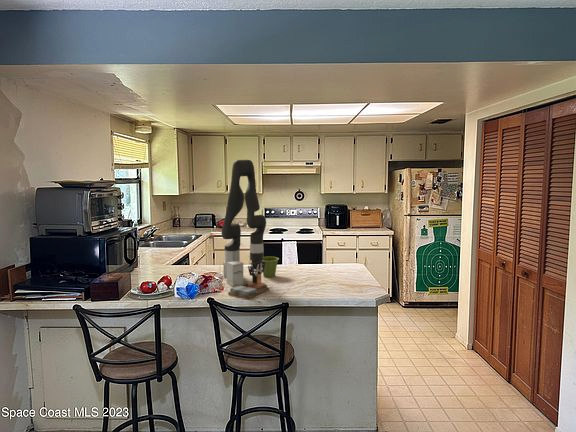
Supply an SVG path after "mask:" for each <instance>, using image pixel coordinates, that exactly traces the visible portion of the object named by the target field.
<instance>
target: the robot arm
mask: <svg viewBox="0 0 576 432" xmlns="http://www.w3.org/2000/svg"><path fill="white" fill-rule="evenodd" d="M254 166H255V165H254V163H253V161H252V160H251V159H236V160H234V161H233V163H232V168H231V180H230V188H229V193H228V197H227V198H228V199H227V202H226V203H227V204H226V209H225V210H226V211H225V215H224V219H223V222H222V227H221V237H222V239H223V240H231V241H230V242H229V243H227V244H225V245H224V262H223V263H222V265H223V278H225V279H227V262H234V261H239V262H241V257H240V255H241V252H240V251H241V248H240V247H241V235H242V232H241V226H240V224H239V223H233V221H234V220H235V218H236V216H238V215H239V214H240V212H241V211H242V209H244V203H245V206H246V225H247V226H248V228H249V229H256V230H254V231H253V232H251V233H250V235H249V238H250V239H249V240H250V241H249V243H250V244H249V260H250V261H251V263H250V265H248V266H247V269H248V273H249V276H251V277H253V283H256V282H257V276H256V275H257V273H258V274H261V275H263V272H264V267H265V262H262V260H263V259H264V257H265V256H264V250H265V249H264V248H265V247H264V234H265V230H266V225H267V218H266V216H264V215H263V214H257V215H256V214H255V212H258V211H259V210H260V203H259V199H258V194H257V185H256V183H257V182H256V172H255V167H254ZM241 177H247V181H248V182H247V187H246V190H245V193H244V191H243V189H242V187H241V185H240V184H241V183H240V182H241V181H240V180H241ZM254 273H255V274H254Z"/></svg>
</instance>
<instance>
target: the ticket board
mask: <svg viewBox="0 0 576 432" xmlns="http://www.w3.org/2000/svg"><path fill="white" fill-rule="evenodd" d="M269 291H270V287H268V286H267V284H265V285H264V286H261V287H259V288H254V287H249V286H248V282H246V283H243V284H240V285H235V286H232V287H230V291H228V292H227V295H228V296H232V297H236V298H242V299H247V300H251V299H254V298H256V297H258V296H261V295H263V294H264V293H267V292H269Z"/></svg>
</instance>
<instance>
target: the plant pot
mask: <svg viewBox="0 0 576 432" xmlns="http://www.w3.org/2000/svg"><path fill="white" fill-rule="evenodd" d="M279 260H280V258H279V257H276V256H264V259H263V260H262V262H265V267H264V272H262V275H263V277H264V278H275V276H276V273H277V266H278V262H279Z"/></svg>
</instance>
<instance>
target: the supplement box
mask: <svg viewBox="0 0 576 432" xmlns="http://www.w3.org/2000/svg"><path fill="white" fill-rule="evenodd" d="M226 284H228V285H229V286H232V287H235V286H238V285H243V284H244V262H242V261H240V262H239V261H234V262H227V278H226Z"/></svg>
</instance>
